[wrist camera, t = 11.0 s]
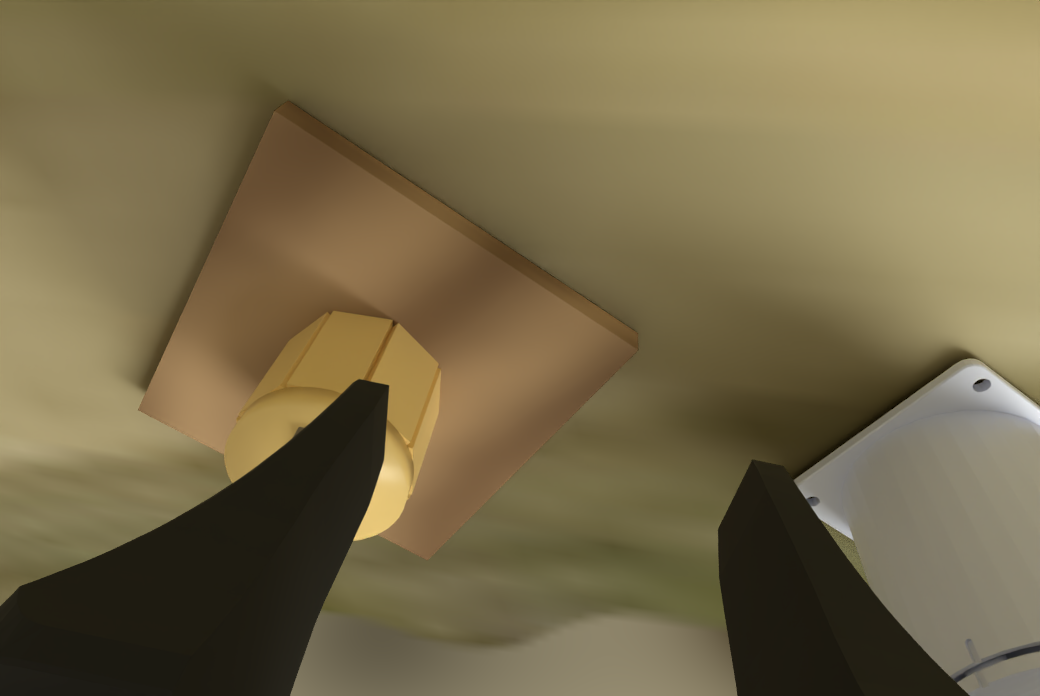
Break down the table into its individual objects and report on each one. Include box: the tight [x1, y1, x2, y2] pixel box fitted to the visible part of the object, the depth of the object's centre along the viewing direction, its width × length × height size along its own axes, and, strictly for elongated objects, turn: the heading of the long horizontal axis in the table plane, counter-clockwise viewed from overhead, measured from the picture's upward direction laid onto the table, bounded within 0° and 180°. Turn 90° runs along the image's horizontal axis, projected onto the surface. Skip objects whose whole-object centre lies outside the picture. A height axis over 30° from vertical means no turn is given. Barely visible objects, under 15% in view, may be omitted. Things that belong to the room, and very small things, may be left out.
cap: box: [224, 311, 441, 541], centre depth 23 cm, size 6×6×5 cm
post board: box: [138, 101, 638, 560], centre depth 24 cm, size 13×14×4 cm
